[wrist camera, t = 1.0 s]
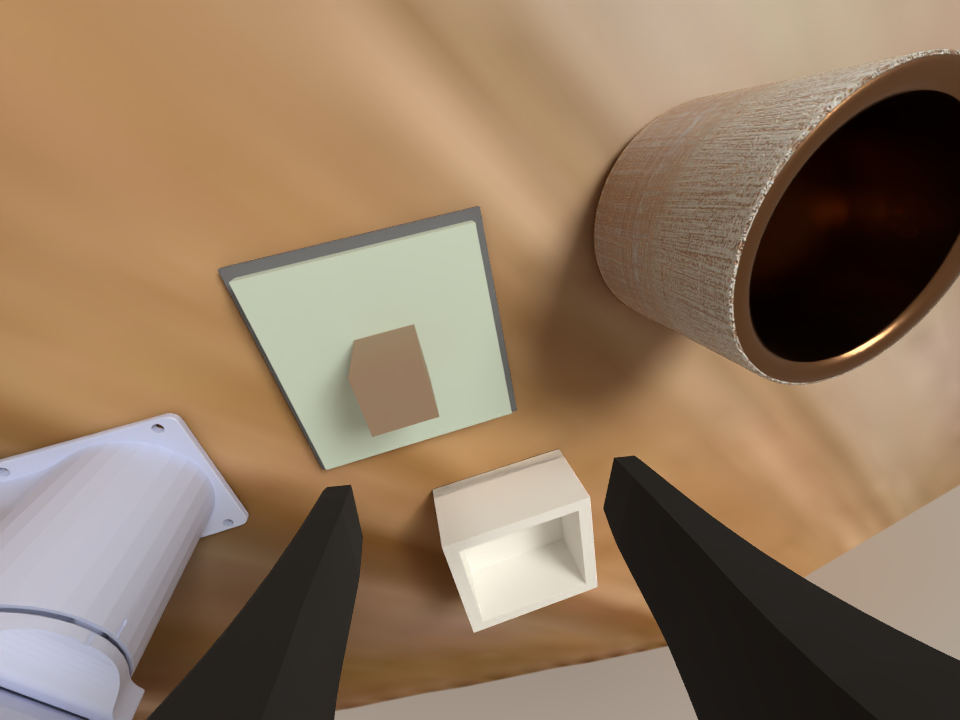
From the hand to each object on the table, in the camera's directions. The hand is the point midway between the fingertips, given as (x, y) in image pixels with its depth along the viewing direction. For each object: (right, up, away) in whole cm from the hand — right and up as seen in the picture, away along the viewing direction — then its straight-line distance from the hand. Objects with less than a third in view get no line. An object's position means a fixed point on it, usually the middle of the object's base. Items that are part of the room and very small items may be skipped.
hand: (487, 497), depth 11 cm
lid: (-5, +4, +10) cm, 12 cm away
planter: (+11, +12, +11) cm, 19 cm away
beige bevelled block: (+2, -7, +18) cm, 19 cm away
